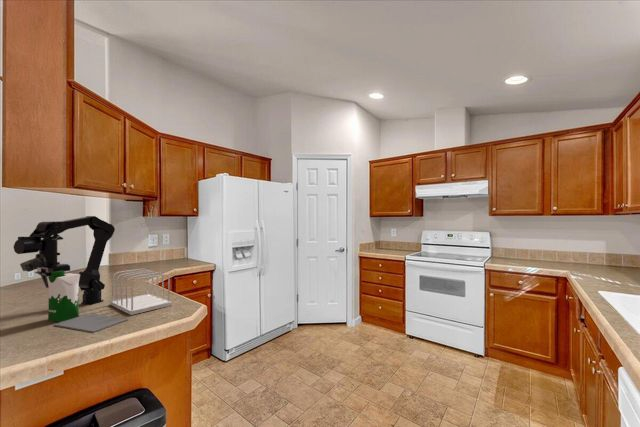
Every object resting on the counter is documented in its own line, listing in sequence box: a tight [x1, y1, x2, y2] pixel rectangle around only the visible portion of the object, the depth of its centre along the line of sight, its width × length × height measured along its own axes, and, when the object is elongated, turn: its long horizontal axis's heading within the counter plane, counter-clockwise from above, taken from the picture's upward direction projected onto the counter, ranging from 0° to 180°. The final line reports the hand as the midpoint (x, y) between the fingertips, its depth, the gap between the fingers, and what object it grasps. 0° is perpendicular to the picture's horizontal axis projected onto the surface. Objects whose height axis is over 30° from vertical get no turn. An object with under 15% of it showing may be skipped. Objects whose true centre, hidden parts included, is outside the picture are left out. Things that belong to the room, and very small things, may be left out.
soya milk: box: [47, 270, 80, 323], centre depth 119 cm, size 9×9×20 cm
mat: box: [53, 313, 129, 334], centre depth 114 cm, size 13×22×1 cm, turn 72°
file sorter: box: [109, 268, 173, 316], centre depth 137 cm, size 25×17×16 cm
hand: (48, 287), depth 123 cm, fingers closed
